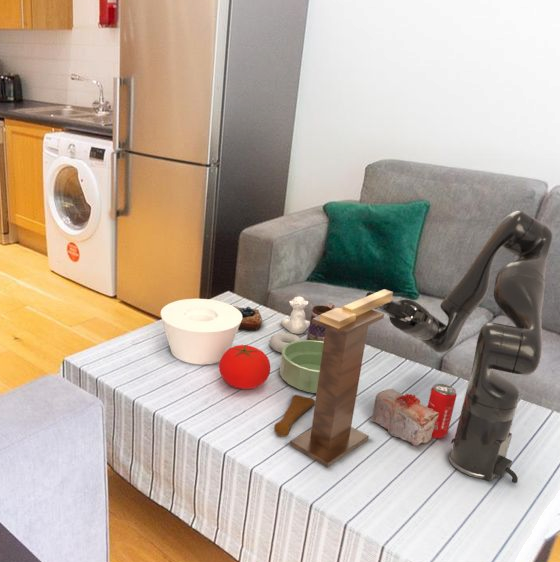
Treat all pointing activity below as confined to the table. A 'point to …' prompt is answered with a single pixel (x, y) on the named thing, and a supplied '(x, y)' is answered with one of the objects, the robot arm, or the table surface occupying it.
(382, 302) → the wooden paddle
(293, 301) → the white creature statuette
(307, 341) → the mixing bowl
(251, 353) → the tomato
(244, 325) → the pastry
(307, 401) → the primitive tool
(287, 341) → the donut
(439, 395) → the beverage can
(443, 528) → the table surface
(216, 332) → the white tapered cylinder
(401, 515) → the table surface
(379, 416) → the food item
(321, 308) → the mug
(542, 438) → the table surface
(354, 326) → the stand
